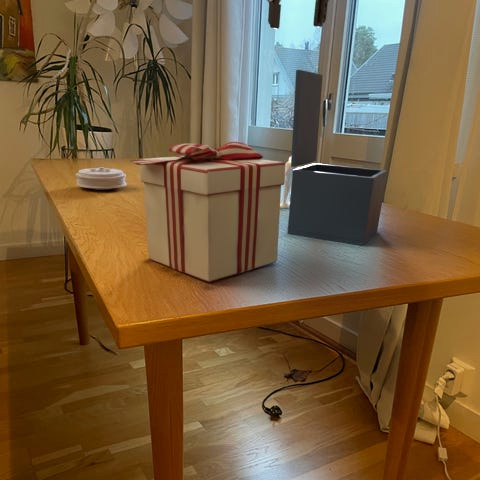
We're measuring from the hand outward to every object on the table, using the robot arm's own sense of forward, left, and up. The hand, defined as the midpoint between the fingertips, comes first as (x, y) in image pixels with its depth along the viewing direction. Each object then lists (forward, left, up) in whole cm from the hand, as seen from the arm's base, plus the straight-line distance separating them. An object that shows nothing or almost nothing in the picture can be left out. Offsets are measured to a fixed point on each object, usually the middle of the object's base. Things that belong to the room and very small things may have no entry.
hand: (295, 27), depth 83 cm
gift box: (+22, +19, -35) cm, 46 cm away
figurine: (-10, -16, -35) cm, 40 cm away
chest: (-8, +8, -35) cm, 36 cm away
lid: (+30, -46, -35) cm, 65 cm away
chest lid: (-3, +3, -15) cm, 15 cm away
